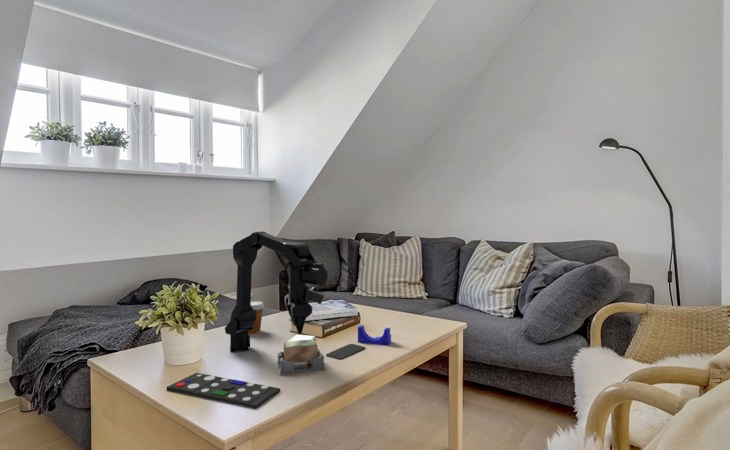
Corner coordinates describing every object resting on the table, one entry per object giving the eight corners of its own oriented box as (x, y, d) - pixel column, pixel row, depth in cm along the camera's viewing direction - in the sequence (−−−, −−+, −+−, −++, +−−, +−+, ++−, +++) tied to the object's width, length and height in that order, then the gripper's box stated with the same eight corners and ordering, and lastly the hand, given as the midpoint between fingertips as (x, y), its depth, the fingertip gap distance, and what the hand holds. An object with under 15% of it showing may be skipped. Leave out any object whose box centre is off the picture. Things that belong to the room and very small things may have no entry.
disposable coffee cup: (263, 334, 172) (262, 305, 172) (239, 335, 170) (238, 306, 170) (265, 328, 181) (264, 300, 181) (242, 329, 180) (241, 301, 179)
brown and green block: (286, 364, 132) (285, 347, 132) (283, 357, 138) (283, 341, 137) (317, 360, 135) (317, 344, 135) (314, 354, 141) (313, 338, 140)
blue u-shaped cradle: (391, 342, 162) (391, 326, 162) (388, 345, 158) (388, 330, 158) (361, 339, 166) (361, 324, 166) (357, 342, 162) (357, 327, 161)
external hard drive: (315, 339, 167) (304, 350, 154) (295, 338, 168) (283, 348, 156) (315, 335, 167) (304, 345, 154) (295, 334, 168) (283, 344, 156)
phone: (324, 354, 147) (350, 343, 159) (324, 357, 147) (350, 345, 159) (340, 359, 142) (366, 347, 155) (340, 361, 142) (366, 349, 155)
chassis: (280, 375, 129) (280, 362, 129) (276, 364, 139) (276, 352, 139) (325, 369, 134) (325, 357, 134) (318, 359, 143) (318, 347, 143)
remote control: (196, 377, 129) (196, 371, 129) (280, 393, 118) (280, 386, 118) (166, 392, 119) (166, 385, 119) (255, 411, 107) (255, 403, 107)
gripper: (328, 286, 131) (328, 335, 132) (316, 276, 149) (315, 320, 149) (292, 287, 128) (292, 338, 128) (284, 277, 145) (284, 322, 146)
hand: (297, 329), depth 138 cm, fingers open, 9 cm apart
